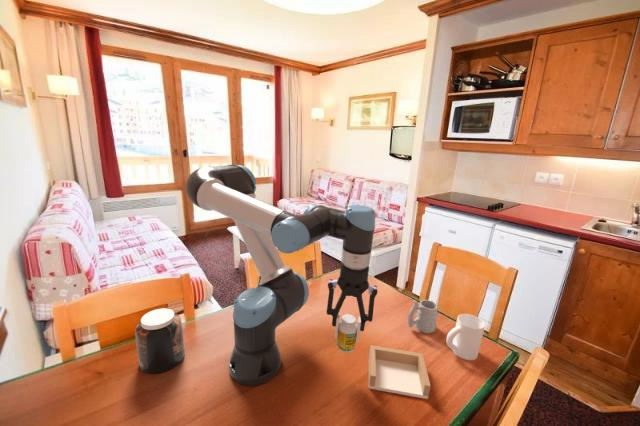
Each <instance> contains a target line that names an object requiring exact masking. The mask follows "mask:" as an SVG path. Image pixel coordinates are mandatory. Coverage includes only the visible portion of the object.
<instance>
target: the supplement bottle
mask: <svg viewBox="0 0 640 426" xmlns="http://www.w3.org/2000/svg"><path fill="white" fill-rule="evenodd" d="M356 322H357V319H356V317H355V316H354V315H352V314H351V313H349V314H348V313H347V314H343V315H342V316H341V321H339V327H338V337H337V338H336V340H337V341H336V346H337V348H338V350H339V351H340V352H343V353H346V354H348V353H352V352H353V351H354V350H355V348H356V344H357V342H356V335H357V325H358V324H356Z"/></svg>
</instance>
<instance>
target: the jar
mask: <svg viewBox="0 0 640 426" xmlns="http://www.w3.org/2000/svg"><path fill="white" fill-rule="evenodd" d="M134 332H135V333H134V334H135V335H134V336H135V344H136V351H137V352H136V353H137V356H138V357H137V359H138V363H139V368H140V370H141V371H142V372H143V373H146V374H149V375H158V374H162V373H163V374H164V373H165V372H168V371H170V370H172V369H174V368H175V367H177V366H178V365H179V364H180V363H182V361H183V359H184V357H185V341H184V332H183V322H182V319H181V317H180V315H179V314H178V313H175V312H174V310H173V309H170V308H166V307H165V308H163V307H162V308H157V309H153V310H151V311H148V312H147V313H145V314H144V315H143V316H142V317H141V318H140V321H139V322H138V323H137V324H136V326H135V329H134Z"/></svg>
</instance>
